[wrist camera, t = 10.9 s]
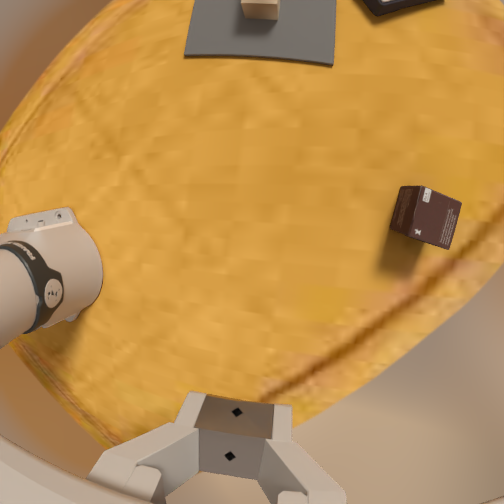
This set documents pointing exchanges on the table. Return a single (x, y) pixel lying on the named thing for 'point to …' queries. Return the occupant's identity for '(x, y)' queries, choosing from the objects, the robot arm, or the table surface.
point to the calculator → (390, 5)
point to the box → (426, 215)
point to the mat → (264, 31)
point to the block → (261, 9)
